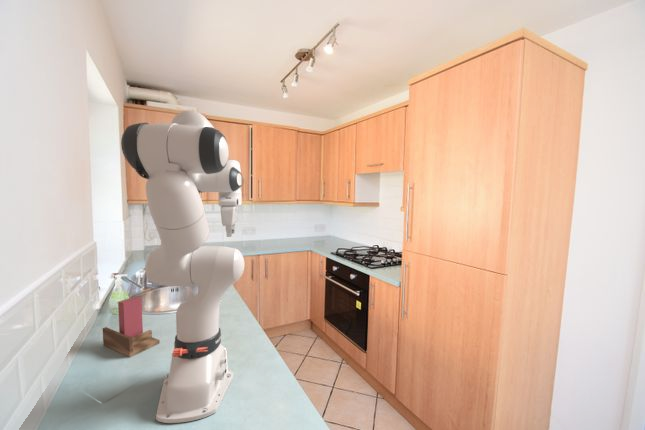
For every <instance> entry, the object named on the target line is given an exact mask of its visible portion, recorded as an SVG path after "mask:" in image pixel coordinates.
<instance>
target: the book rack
mask: <svg viewBox="0 0 645 430" xmlns="http://www.w3.org/2000/svg"><path fill="white" fill-rule="evenodd" d="M158 344H160V339H158V338H155V337H153V331H152V330H151V329H148V330H146V331H143V333H141V334H139V335H136V336H134V337H130V336H127V335H125V334H122V333H119V331H117V330H114V329H111V328H109V327H108V326H105V327H102V345H103V347H106V348H108V349H111V350H113V351H115V352H117V353H119V354H121V355H124V356H125V357H128V358H132V357H133V356H136V355H139V354H140V353H142V352H144V351H146V350H149V349H150V348H153V347H155V346H157V345H158Z"/></svg>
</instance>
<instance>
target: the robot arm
mask: <svg viewBox="0 0 645 430" xmlns="http://www.w3.org/2000/svg"><path fill="white" fill-rule="evenodd" d="M120 142H121V143H120V145H121V150H122V154H123V157H124V158H125V159H126V161H127V162H128V164H129V165H130V167H131V168H133V169H134V170H135V172H136V173H137V175H138V176H140V177H141V178H143V179H145V180H146V184H145V194H146V195H145V196H146V199H147V200H146V201H147V204H148V209H149V212H150V215H151V218H152V220H153V223H154V225H155V227H156V230H157V233H158V236H159V239H160V246H159V247H158V248H157V249H154V250H153V251H152V252H151V253H150V254H149V256H148V257H147V259H146V261H145V266H144V270H145V272H144V273H145V275H146V277H147V279H148V281H149V282H150V283H151V284H154V285H158V286H164V287H171V288H173V287H197V293H196V294H194V295H192V296H190V297H188V298H187V299H185V300H184V301H181V303H180V304H179V306H178V307H177V309H176V313H175V319H176V321H175V323H176V324H175V325H176V328H175V329H176V335H175V336H174V343H173V345H174V346H173V347H174V348H173V351H172V353H171V361H170V367H169V372H168V373H167V374H166V378H165V379H164V380H163V383H162V387H161V391H160V396H159V399H158V405H157V410H156V414H155V420H156V421H157V422H158V423H162V424H179V423H185V422H186V423H187V422H192V421H193V422H194V421H196V420H201V419H204V418H206V417H209V416H211V415H213V414H215V413H216V412H217V411H218V409H219V408H220V405H221V404H222V401H223V399H224V398H225V395H226V393H227V391H228V389H229V387H230V385H231V384H232V381H233V379H234V376H235V375H234V372H233V370H229V369H228V355H227V353H228V352H227V348H226V347H225V346H223V344H222V333H221V331H222V330H221V327H220V309H221V308H220V307H221V302H222V300H223V297H224V295H225V294H226V292H227V291H228V290H229V288H231V287H232V285H233V284H235V283H236V282H237V281H239V280H240V278H241V277H242V275H243V274H244V272H245V267H246V265H245V264H246V263H245V258H244V255H243V254H242V252H241V251H240V250H239V249H238V248H235V247H231V246H230V247H229V246H224V245H204V244H205V243H206V242H207V240H208V238H209V235H210V225H209V221H208V218H207V214H206V212H205V207H204V206H205V205H204V203H203V200H202V197H201V194H202V193H218V206H219V207H220V216H221V217H220V218H221V224H222V226H223V227H225V232H226V233H225V234H226V238H231V237H233V236H232V235H233V234H234V233H235V227H236V223H237V222H238V210H239V208H240V207H239V206H242V204H243V201H242V200H243V197H242V186H243V174H242V170H241V164H240V162H239V161H238V160H236V159H233V158H229V155H230V154H229V153H230V152H229V145H228V143H227V142H228V141H227V138H226V137H225V135H224V134H223V133H222V132H221V131H220V130H218V129H216V128H215V127H214V125H212V123H211V122H210V120H208V119H207V118H206V117H205V116H204V115H203V114H202V113H200V112H199V111H194V110H184V111H181V112H179V113H177V114H176V115H175V116H174V117H173V118H172V119H171V122H157V123H156V122H155V123H148V122H139V123H134V124H131V125H128V126H127V127H126V128H125V130H124V132H123V134H122V136H121V141H120ZM200 193H201V194H200Z"/></svg>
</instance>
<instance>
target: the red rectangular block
mask: <svg viewBox="0 0 645 430" xmlns="http://www.w3.org/2000/svg"><path fill="white" fill-rule="evenodd" d="M142 302H143V301H142V296H141V297H140V296H133V297H129V298H126V299H123V300H119V301H118V302H117V307H118V308H117V310H118V332H119V333H122V334H125V335H127V336H130V337H134V336H136V335H139V334H141V333H143V332H144V331H143V329H144V328H143V303H142Z"/></svg>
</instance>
